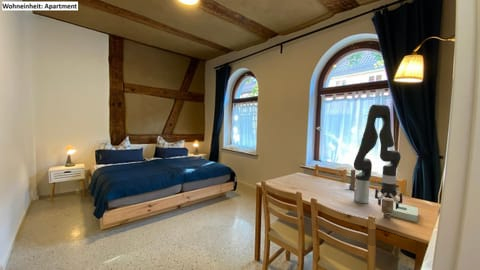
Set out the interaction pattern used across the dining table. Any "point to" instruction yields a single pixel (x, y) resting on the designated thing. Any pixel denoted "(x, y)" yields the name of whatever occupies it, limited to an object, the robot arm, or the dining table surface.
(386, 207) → the peg
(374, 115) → the robot arm
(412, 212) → the socket block
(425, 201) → the dining table surface
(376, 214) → the dining table surface
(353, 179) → the wooden block
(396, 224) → the dining table surface
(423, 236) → the dining table surface
